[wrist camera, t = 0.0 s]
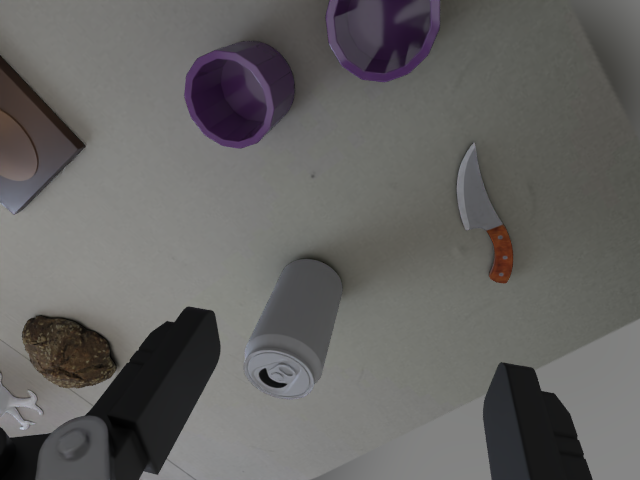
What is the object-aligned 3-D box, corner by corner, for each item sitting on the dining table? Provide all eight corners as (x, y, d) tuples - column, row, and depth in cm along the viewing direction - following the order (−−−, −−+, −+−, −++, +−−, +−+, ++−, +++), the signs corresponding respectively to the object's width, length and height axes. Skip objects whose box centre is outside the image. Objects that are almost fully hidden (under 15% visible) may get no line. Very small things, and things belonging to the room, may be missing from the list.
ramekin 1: (235, 22, 28) (200, 29, 24) (310, 72, 29) (290, 88, 25) (207, 97, 32) (172, 115, 27) (274, 140, 33) (251, 164, 28)
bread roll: (63, 373, 61) (38, 401, 57) (19, 313, 54) (-13, 340, 50) (132, 379, 57) (110, 409, 53) (94, 316, 51) (66, 345, 47)
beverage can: (270, 277, 41) (223, 370, 31) (309, 242, 37) (269, 335, 28) (316, 313, 42) (284, 413, 32) (357, 283, 39) (335, 385, 29)
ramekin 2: (375, -66, 24) (364, -77, 20) (458, -5, 25) (466, -2, 20) (324, 33, 27) (306, 42, 23) (399, 84, 28) (395, 102, 24)
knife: (437, 156, 30) (478, 141, 28) (437, 154, 30) (477, 139, 29) (487, 288, 35) (523, 280, 34) (486, 283, 35) (522, 275, 34)
